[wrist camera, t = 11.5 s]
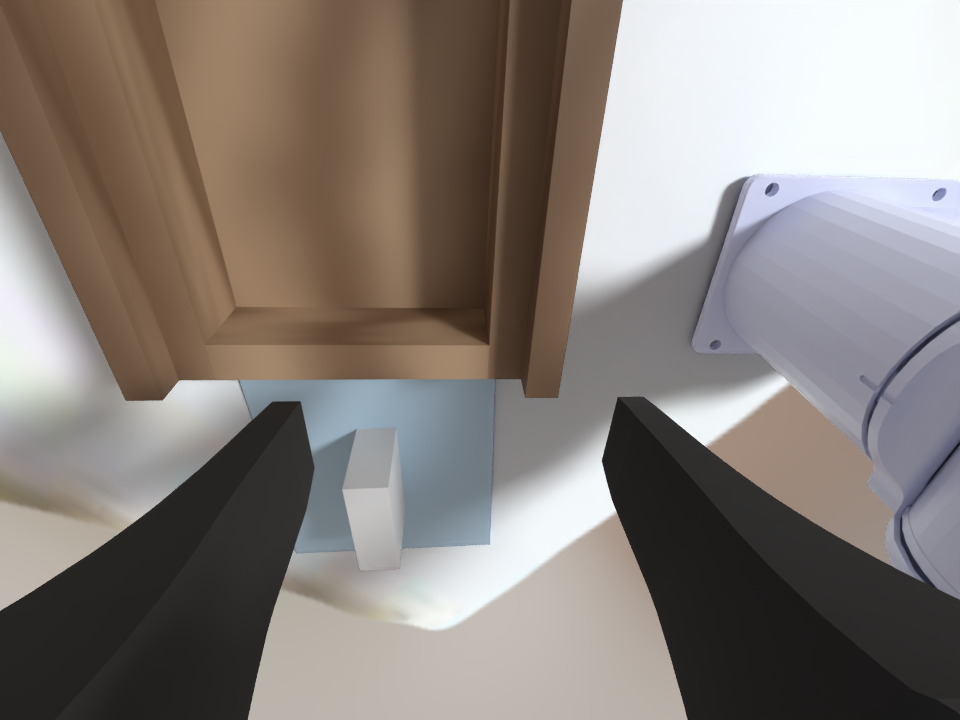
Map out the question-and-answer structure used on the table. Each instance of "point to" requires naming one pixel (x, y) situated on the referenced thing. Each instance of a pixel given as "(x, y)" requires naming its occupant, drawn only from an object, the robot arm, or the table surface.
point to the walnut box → (313, 180)
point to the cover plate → (425, 447)
